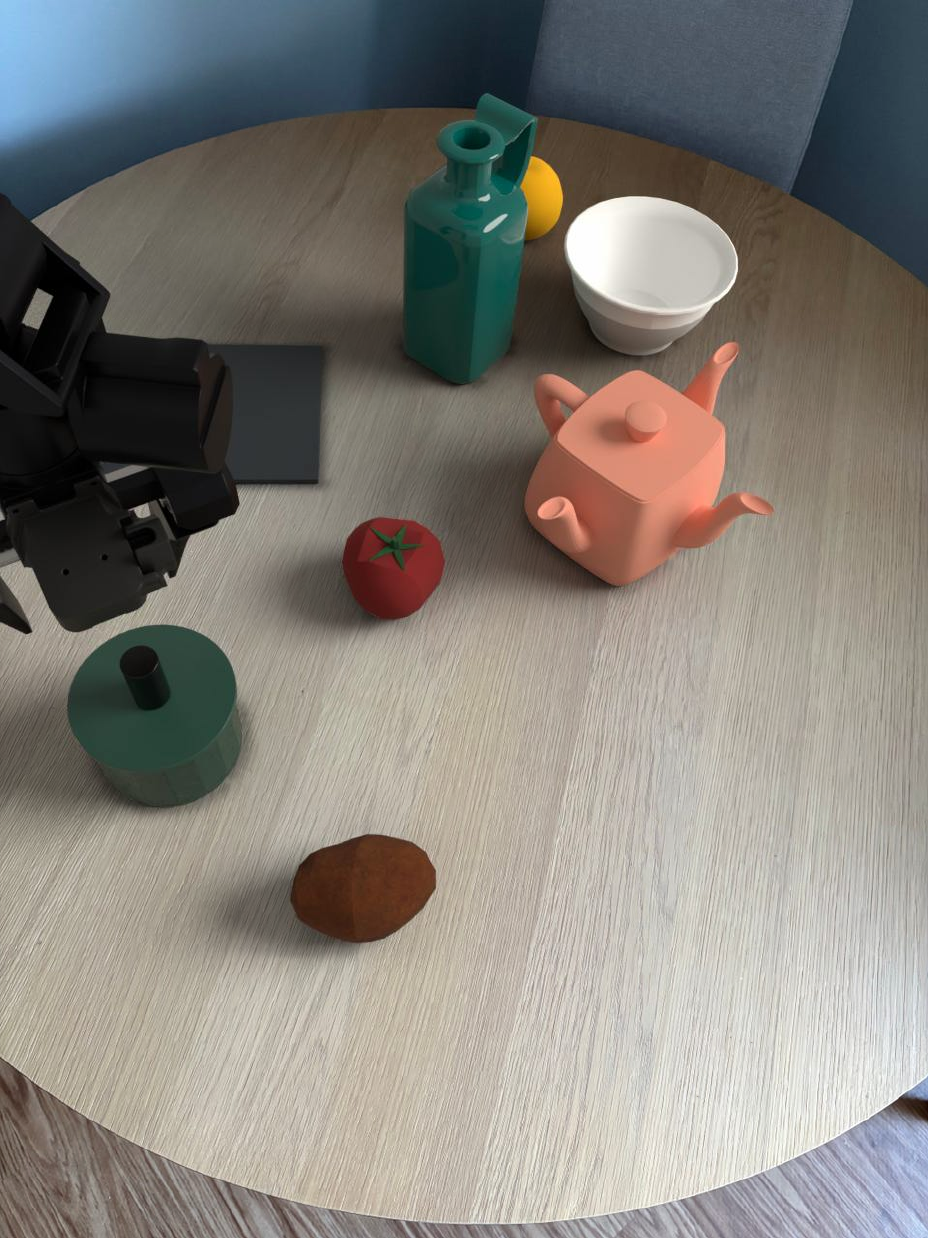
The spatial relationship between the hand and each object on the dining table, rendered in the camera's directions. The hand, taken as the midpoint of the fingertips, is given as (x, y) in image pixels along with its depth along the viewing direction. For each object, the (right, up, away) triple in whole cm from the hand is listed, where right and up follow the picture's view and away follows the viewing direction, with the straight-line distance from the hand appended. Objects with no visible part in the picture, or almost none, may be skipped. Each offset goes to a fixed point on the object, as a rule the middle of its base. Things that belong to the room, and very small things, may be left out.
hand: (100, 599), depth 66 cm
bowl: (+39, +28, +36) cm, 60 cm away
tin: (+2, -10, +10) cm, 14 cm away
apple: (+29, +39, +43) cm, 65 cm away
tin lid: (+2, -7, +4) cm, 8 cm away
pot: (+37, +7, +23) cm, 44 cm away
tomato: (+17, +1, +18) cm, 25 cm away
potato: (+16, -20, +5) cm, 27 cm away
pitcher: (+23, +25, +33) cm, 47 cm away
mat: (+1, +17, +27) cm, 32 cm away
